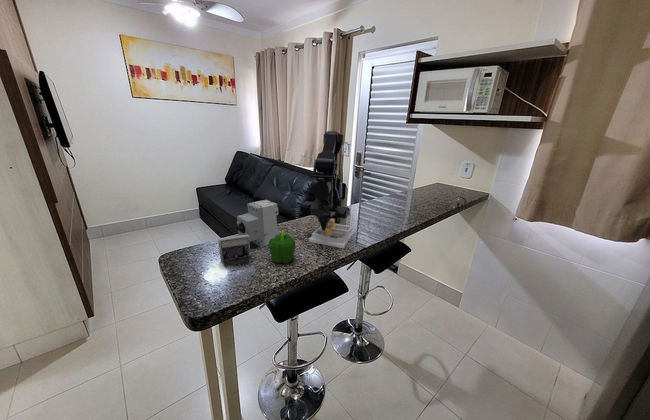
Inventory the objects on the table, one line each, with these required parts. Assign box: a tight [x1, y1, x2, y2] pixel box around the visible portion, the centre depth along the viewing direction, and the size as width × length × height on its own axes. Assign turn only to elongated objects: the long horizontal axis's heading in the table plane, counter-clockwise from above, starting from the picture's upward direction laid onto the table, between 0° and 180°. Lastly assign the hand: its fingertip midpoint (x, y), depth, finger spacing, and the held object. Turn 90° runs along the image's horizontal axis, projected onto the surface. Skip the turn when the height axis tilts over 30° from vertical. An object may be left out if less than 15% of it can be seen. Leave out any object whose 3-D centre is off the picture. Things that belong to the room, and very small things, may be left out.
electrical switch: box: [217, 235, 251, 266], centre depth 80 cm, size 9×5×9 cm, turn 113°
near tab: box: [324, 226, 334, 236], centre depth 97 cm, size 3×3×4 cm
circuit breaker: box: [235, 199, 280, 248], centre depth 92 cm, size 8×14×15 cm, turn 135°
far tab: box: [328, 218, 336, 228], centre depth 105 cm, size 3×3×4 cm
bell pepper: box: [268, 229, 296, 264], centre depth 82 cm, size 8×8×10 cm
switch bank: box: [308, 222, 356, 249], centre depth 101 cm, size 14×16×3 cm
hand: (323, 230), depth 98 cm, fingers closed
